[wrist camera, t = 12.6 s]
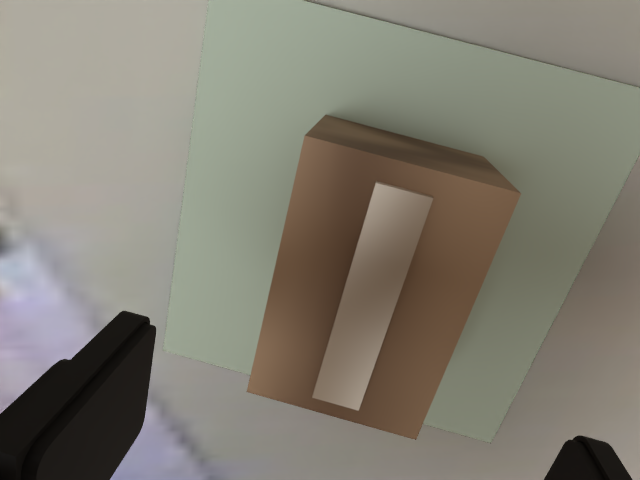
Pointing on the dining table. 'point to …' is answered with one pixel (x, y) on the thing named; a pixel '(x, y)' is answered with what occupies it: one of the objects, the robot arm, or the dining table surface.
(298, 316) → the cardboard box
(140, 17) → the dining table surface
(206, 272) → the mat
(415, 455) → the dining table surface
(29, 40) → the dining table surface
